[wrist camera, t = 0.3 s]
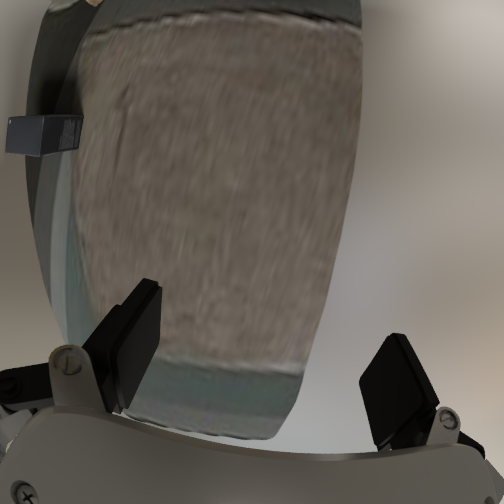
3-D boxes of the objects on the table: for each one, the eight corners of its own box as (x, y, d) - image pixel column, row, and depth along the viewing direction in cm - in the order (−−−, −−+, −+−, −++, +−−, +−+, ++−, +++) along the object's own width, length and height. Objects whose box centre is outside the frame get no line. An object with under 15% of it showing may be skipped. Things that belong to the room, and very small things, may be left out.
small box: (42, 146, 37) (3, 154, 27) (47, 114, 34) (7, 115, 25) (78, 151, 37) (37, 158, 28) (84, 114, 35) (43, 114, 25)
